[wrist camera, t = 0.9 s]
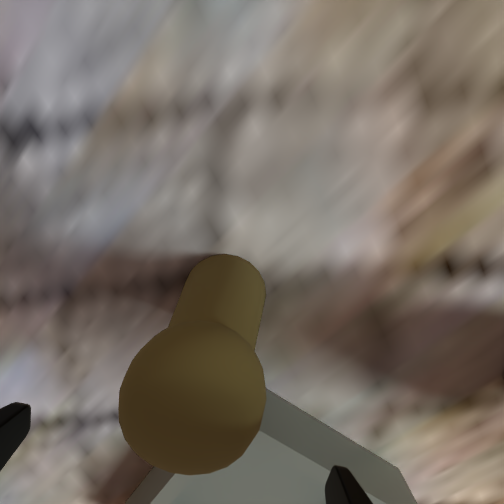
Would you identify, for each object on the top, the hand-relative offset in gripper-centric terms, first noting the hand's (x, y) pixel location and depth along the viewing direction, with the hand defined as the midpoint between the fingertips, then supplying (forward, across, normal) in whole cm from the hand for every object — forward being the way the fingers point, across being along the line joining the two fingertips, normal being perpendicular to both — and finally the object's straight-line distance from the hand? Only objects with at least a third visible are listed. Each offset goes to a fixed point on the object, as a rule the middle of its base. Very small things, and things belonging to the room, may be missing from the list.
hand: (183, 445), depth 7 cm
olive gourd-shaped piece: (+11, 0, 0) cm, 11 cm away
